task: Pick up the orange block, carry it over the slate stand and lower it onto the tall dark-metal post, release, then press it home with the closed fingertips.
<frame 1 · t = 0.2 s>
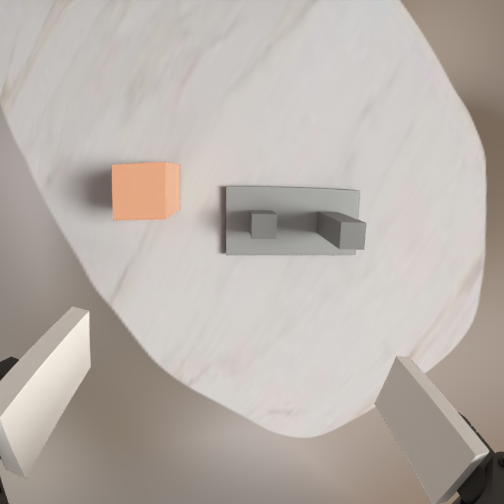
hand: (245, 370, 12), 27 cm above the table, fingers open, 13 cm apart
stand: (294, 221, 38), on the table
orange block: (158, 187, 36), on the table
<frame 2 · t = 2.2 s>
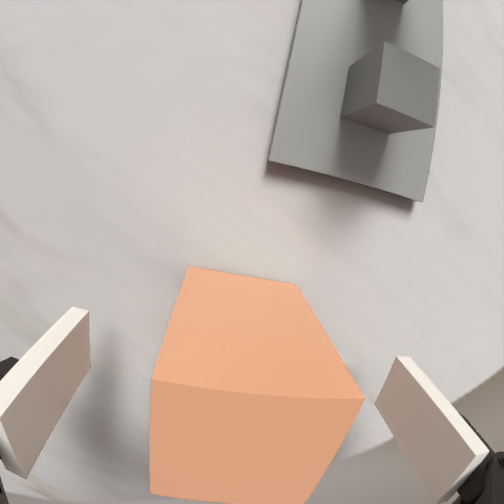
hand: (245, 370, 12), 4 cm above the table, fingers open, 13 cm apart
stand: (374, 35, 13), on the table
orange block: (233, 324, 16), on the table
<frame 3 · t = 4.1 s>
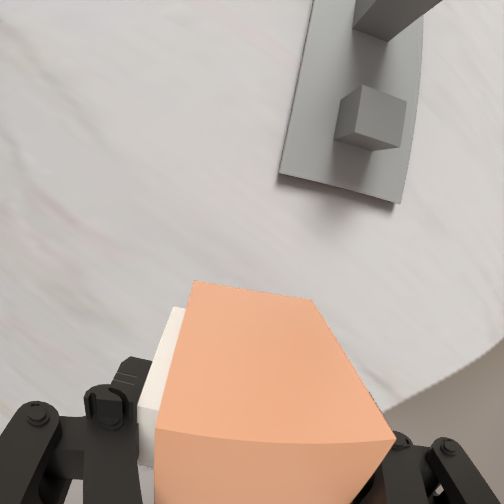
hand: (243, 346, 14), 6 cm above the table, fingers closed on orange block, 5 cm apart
stand: (362, 71, 17), on the table
orange block: (242, 342, 14), point 6 cm above the table, touching gripper
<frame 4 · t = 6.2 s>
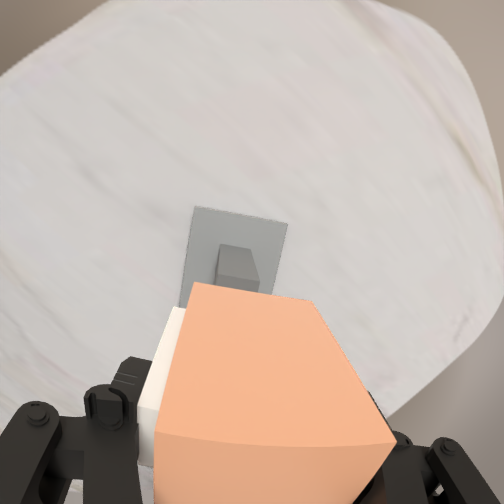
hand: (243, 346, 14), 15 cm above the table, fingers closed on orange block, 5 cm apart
stand: (224, 300, 29), on the table
orange block: (242, 344, 14), point 15 cm above the table, touching gripper
when the fingers open (2 cm above the table, at t = 8.7 s): orange block stays where it is, resting on stand.
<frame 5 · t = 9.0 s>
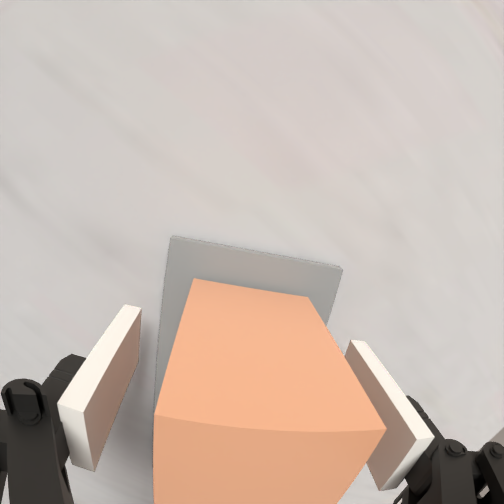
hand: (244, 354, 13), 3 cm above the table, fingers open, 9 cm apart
stand: (228, 389, 17), on the table
orange block: (241, 339, 15), point 1 cm above the table, touching stand
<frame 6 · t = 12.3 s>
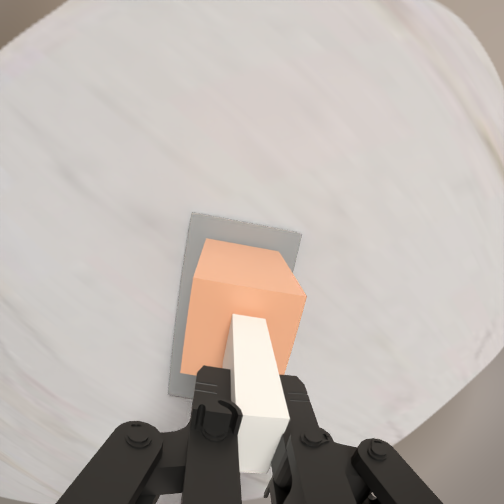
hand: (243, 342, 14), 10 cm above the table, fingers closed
stand: (227, 321, 25), on the table
orange block: (236, 279, 23), point 1 cm above the table, touching stand
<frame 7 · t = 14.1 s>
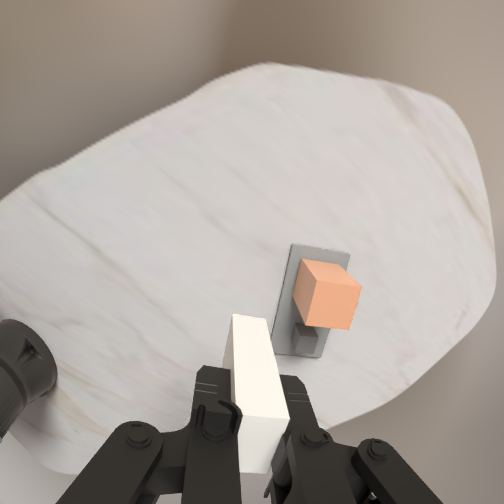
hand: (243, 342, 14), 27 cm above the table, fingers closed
stand: (307, 304, 44), on the table
orange block: (315, 280, 42), point 1 cm above the table, touching stand
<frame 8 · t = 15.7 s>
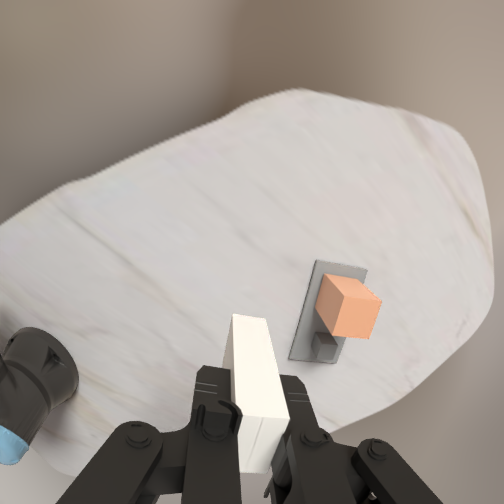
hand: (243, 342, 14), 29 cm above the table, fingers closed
stand: (327, 315, 47), on the table
orange block: (336, 293, 45), point 1 cm above the table, touching stand
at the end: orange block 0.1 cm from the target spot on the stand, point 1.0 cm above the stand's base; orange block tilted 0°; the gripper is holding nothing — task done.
